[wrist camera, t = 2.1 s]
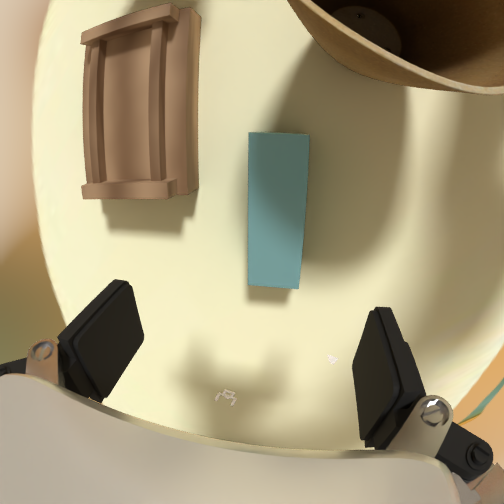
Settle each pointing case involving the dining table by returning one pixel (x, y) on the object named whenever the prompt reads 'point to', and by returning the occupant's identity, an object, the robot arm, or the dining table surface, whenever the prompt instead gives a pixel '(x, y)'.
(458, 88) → the plant pot
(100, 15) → the dining table surface
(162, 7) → the display cradle
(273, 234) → the teal block
